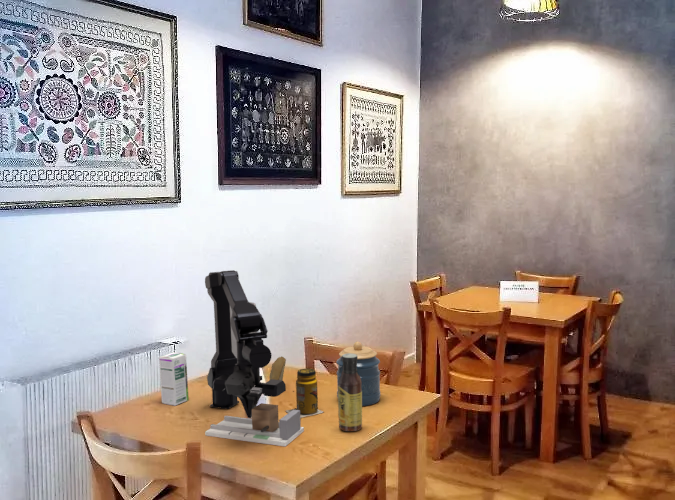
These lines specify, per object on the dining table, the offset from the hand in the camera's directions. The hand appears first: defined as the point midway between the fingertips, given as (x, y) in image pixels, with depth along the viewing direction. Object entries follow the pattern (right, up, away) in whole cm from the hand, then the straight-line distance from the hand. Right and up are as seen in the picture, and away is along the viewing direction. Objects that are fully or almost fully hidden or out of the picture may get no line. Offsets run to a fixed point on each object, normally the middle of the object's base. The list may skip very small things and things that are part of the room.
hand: (250, 417), depth 172 cm
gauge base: (+1, -4, 0) cm, 4 cm away
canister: (+29, -1, +25) cm, 39 cm away
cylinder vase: (-10, 0, +51) cm, 52 cm away
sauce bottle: (+26, -4, +2) cm, 27 cm away
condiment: (+13, -3, +16) cm, 21 cm away
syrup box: (-26, -2, +27) cm, 38 cm away
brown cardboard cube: (+4, -3, -3) cm, 6 cm away
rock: (+2, -1, +39) cm, 39 cm away
